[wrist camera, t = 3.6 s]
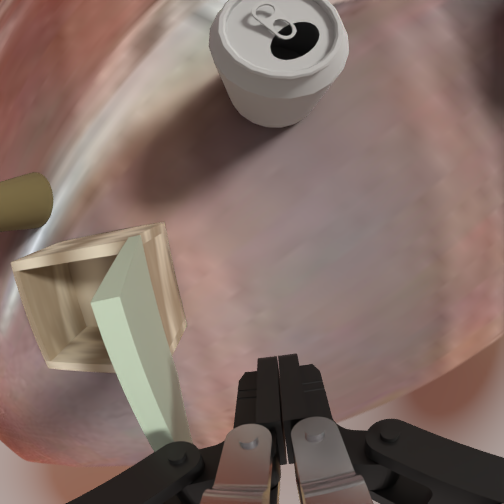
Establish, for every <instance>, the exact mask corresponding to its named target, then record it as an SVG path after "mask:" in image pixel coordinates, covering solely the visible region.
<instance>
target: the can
mask: <svg viewBox="0 0 504 504" xmlns="http://www.w3.org/2000/svg"><path fill="white" fill-rule="evenodd" d="M209 48H210V51H211V54H212V57H213V60H214V63H215V65H216V68H217V70H218V72H219V74H220V77H221V79H222V81H223V83H224V86H225V88H226V90H227V93H228V95H229V97H230V100H231V102H232V104H233V105H234V107H235V108H236V109H237V111H238V112H239V113H240V114H241V115H242V116H243V117H245V118H246V119H248V120H249V121H251V122H252V123H255V124H258V125H261V126H264V127H277V128H281V127H285V126H289V125H293V124H296V123H297V122H299V121H300V120H302V119H304V118H305V117H307V115H308V114H309V113H310V112H311V111H312V109H313V108H314V107H315V106H316V104H317V103H318V102H319V100H320V99H321V98H322V96H323V95H324V94H325V92H326V91H327V90H328V88H329V87H330V86H331V84H332V83H333V82H334V81H335V79H336V78H337V77H338V75H339V74H340V73H341V71H342V70H343V69H344V66H345V63H346V60H347V57H348V54H349V46H348V34H347V32H346V30H345V28H344V26H343V23H342V21H341V19H340V17H339V14H338V12H337V10H336V9H335V8H334V7H333V6H332V5H331V4H330V2H329V1H328V0H228V1H227V2H226V3H225V4H224V6H223V8H222V9H221V10H220V11H219V12H218V14H217V16H216V18H215V20H214V22H213V24H212V26H211V28H210V36H209Z"/></svg>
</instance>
